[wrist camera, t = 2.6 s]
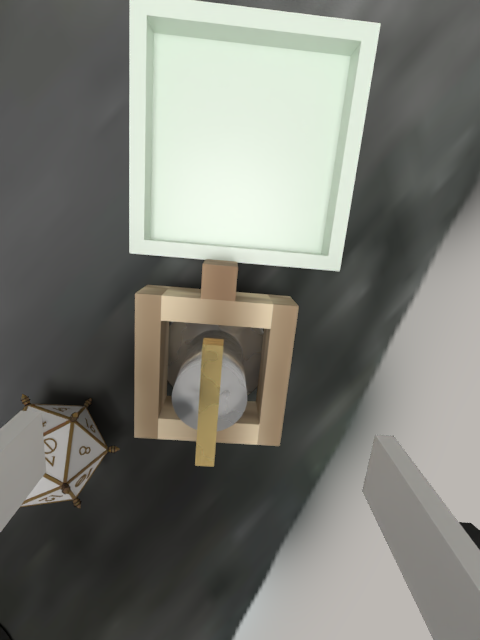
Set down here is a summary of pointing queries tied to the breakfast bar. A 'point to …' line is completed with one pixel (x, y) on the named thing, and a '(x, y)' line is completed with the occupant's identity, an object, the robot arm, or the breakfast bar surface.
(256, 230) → the tray
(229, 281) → the tan wooden square frame
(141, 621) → the breakfast bar surface
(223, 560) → the breakfast bar surface
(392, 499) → the robot arm
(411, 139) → the breakfast bar surface
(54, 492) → the game die
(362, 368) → the breakfast bar surface
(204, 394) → the grey piece
